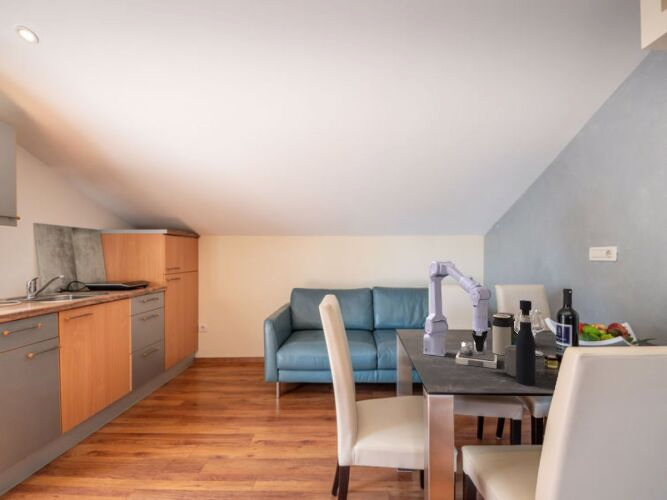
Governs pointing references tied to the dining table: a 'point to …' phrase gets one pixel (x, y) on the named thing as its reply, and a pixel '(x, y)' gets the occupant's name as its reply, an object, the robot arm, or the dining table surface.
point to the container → (513, 333)
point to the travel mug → (501, 333)
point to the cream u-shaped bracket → (477, 360)
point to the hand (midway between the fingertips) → (479, 349)
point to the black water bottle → (525, 348)
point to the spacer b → (480, 352)
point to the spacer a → (467, 348)
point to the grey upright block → (510, 360)
